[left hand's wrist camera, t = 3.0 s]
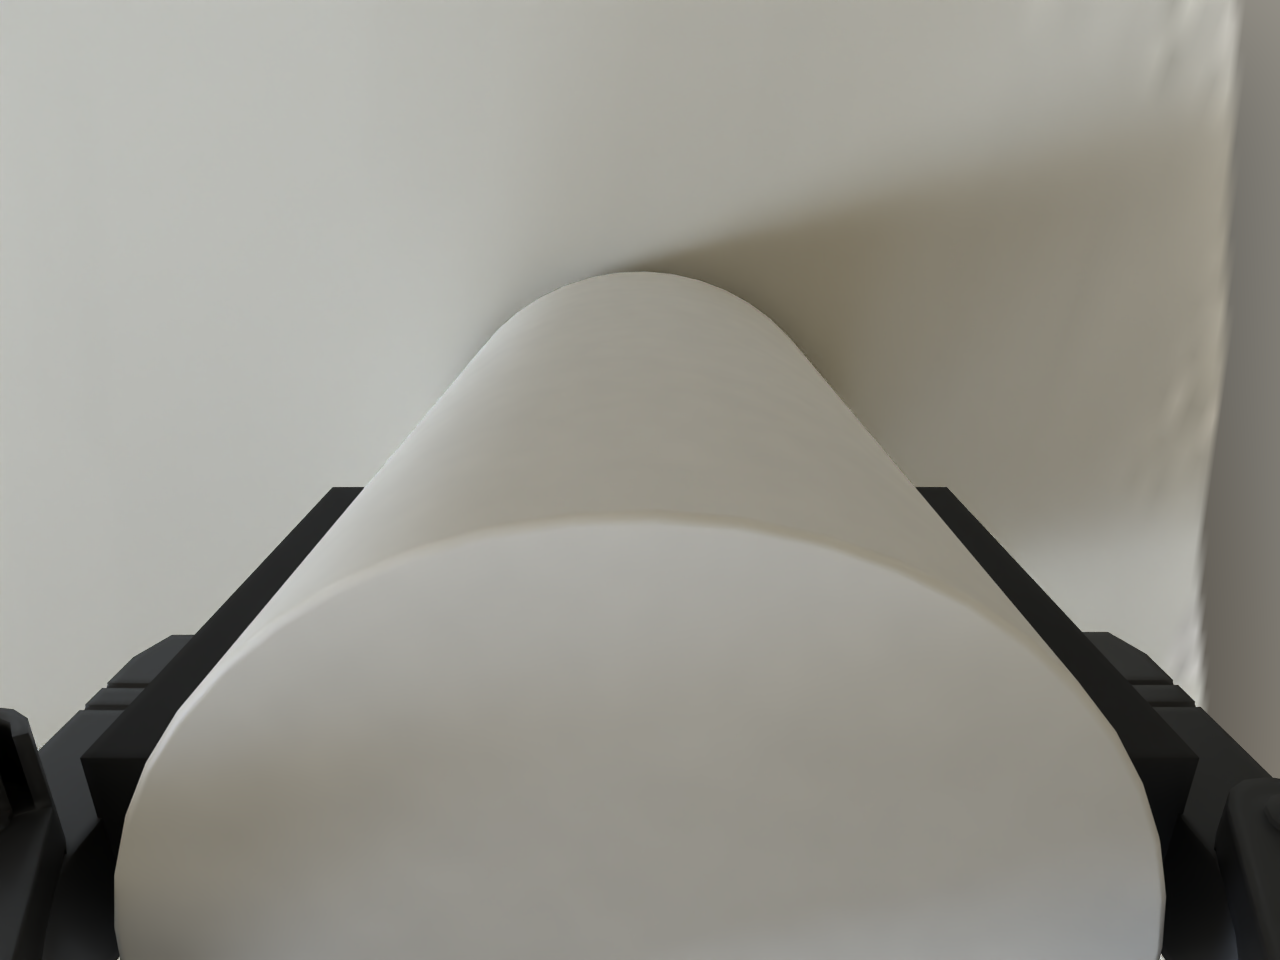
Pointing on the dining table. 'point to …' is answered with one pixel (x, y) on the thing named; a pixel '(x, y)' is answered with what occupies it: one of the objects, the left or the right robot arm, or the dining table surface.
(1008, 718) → the canister
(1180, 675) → the dining table surface
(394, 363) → the dining table surface
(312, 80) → the dining table surface
